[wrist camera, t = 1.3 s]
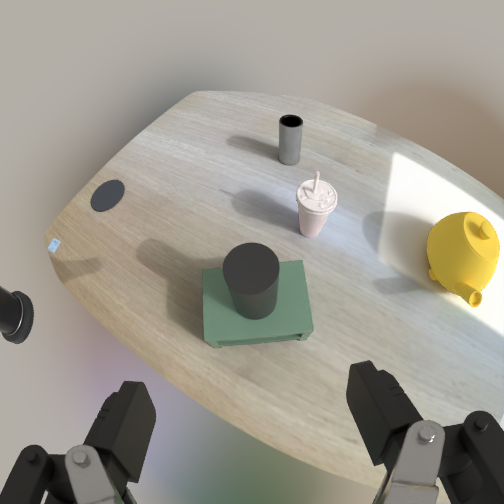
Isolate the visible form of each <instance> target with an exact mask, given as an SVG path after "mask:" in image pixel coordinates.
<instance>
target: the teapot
mask: <svg viewBox="0 0 504 504" xmlns="http://www.w3.org/2000/svg"><path fill="white" fill-rule="evenodd" d="M499 250H500V246H499V240H498V236H497V234H496V231H495V229H494V228H493V226H492V225H491V223H490V222H489V221H488V220H487V219H486V218H485V217H483V216H482V215H480V214H478V213H475V212H461V213H455V214H451V215H449V216H447V217H445V218H443V219H441V220H440V221H439V222H438V223H436V224H435V226H434V227H433V228H432V229H431V231H430V233H429V236H428V240H427V255H428V260H429V264H430V267H431V268H430V270H429V276H430V278H431V279H432V280H434V281H439V282H440V283H441V285H443V286H444V287H445V288H446V289H447V290H449V291H450V292H452V293H453V294H456V295H458V296H461V297H462V298H463V299H464V300H465V301H466V302H467V303H468V304H469V305H470V306H471V307H477V306H478V305H479V304H480V303H481V300H482V295H481V293H480V291H482V290H483V289H484V288H485V287H486V285H487V284H488V283H489V281H490V280H491V278H492V276H493V274H494V271H495V269H496V265H497V262H498V257H499Z"/></svg>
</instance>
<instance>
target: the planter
mask: <svg viewBox="0 0 504 504" xmlns="http://www.w3.org/2000/svg"><path fill="white" fill-rule="evenodd" d="M302 127H303V120H302V119H301V118H300V117H298V116H296V115H285V116H282V117H281V118H280V120H279V160H280V162H282V163H283V164H286V165H294V164H296V163H298V162H299V159H300V149H301V139H302Z"/></svg>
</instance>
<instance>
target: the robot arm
mask: <svg viewBox="0 0 504 504" xmlns="http://www.w3.org/2000/svg"><path fill="white" fill-rule="evenodd" d="M23 318H24V304H23V301H22V300H21V298H20V297H18V296H17V295H14V294H12V293H11V292H9V291H7V290H6V289H4V288H3V287H1V286H0V331H1V332H3V333H5V334H7V335H9V336H13V335H15V334H16V333H17V332H18V331H19V329H20V328H21V325H22V323H23ZM346 398H347V403H348V406H349V409H350V411H351V413H352V415H353V418H354V420H355V422H356V425H357V427H358V429H359V432H360V434H361V436H362V439H363V441H364V443H365V446H366V448H367V450H368V453H369V455H370V457H371V460H372V462H373V465H374V466H376V465H379V464H382V463H384V465H385V467H386V469H387V472H386V474H385V476H384V479H383V481H382V484H381V486H380V488H379V490H378V493H377V495H376V497H375V499H374V501H373V504H435V503H436V500H437V497H438V492H439V488H438V486H435V483H436V479H437V477H439V478H440V480H441V482H442V484H443V486H444V489H445V491H446V493H447V495H448V498H449V500H450V502H451V504H504V431H503V430H502V428H501V427H500V425H499V424H498V423H497V421H496V420H495V419H494V417H493V416H492V415H491V414H489V413H488V412H485V411H475V412H472V413H470V414H469V415H468V416H467V417H466V419H465V421H464V422H463V423H462V424H457V425H451V426H445V427H442V426H441V425H440V424H438V423H436V422H434V421H430V420H423V418H422V417H421V415H420V414H419V412H418V411H417V409H416V408H415V407H414V405H413V404H412V402H411V401H410V399H409V398H408V396H407V395H406V393H404V390H403V389H402V388H401V386H399V383H398V382H397V380H396V379H395V378H394V376H393V375H391V374H390V373H388V372H386V371H385V370H380V371H377V369H376V368H375V366H374V365H373V363H372V362H371V361H370V360H368V361H364V362H360V363H355V364H351V366H350V371H349V378H348V385H347V391H346ZM155 422H156V411H155V407H154V405H153V403H152V400H151V398H150V396H149V394H148V391H147V388H146V386H145V384H144V383H143V382H133V381H124V382H123V384H122V386H121V388H120V390H119V392H114V393H112V394H111V395H110V397H108V398H107V399H106V400H105V402H104V404H103V406H102V408H101V411H99V413H98V415H97V418H96V419H95V421H94V423H93V425H92V427H91V429H90V431H89V433H88V435H87V437H86V439H85V441H84V443H83V445H78V446H75V447H73V448H71V449H70V450H69V451H68V452H67V454H66V455H58V454H56V455H55V454H48V453H47V452H46V451H45V450H44V449H43V448H42V447H41V446H39V445H30V446H27V447H26V448H24V449H23V450H22V451H21V453H20V455H19V457H18V459H17V461H16V463H15V465H14V467H13V469H12V471H11V473H10V475H9V477H8V479H7V481H6V483H5V486H4V488H3V490H2V492H1V494H0V504H40V503H41V501H42V498H43V495H44V492H45V490H46V491H47V492H48V495H47V498H46V501H45V503H44V504H137V503H136V501H135V499H134V497H133V496H132V494H131V492H130V490H129V489H128V487H127V486H126V485H127V482H128V481H129V482H134V483H138V481H139V477H140V474H141V470H142V467H143V463H144V460H145V456H146V452H147V449H148V445H149V442H150V438H151V435H152V432H153V428H154V425H155Z"/></svg>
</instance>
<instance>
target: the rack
mask: <svg viewBox="0 0 504 504" xmlns="http://www.w3.org/2000/svg"><path fill="white" fill-rule="evenodd" d="M279 265H280V271H279V283H278V293H277V303H276V306H275V309H274V310H273V312H272V313H271V314H270V315H269V316H267V317H265V318H263V319H259V320H251V319H247V318H245V317H243V316H242V315H241V314H240V313H239V312H238V311H237V309H236V307H235V305H234V302H233V300H232V297H231V295H230V292H229V289H228V287H227V284H226V281H225V279H224V276H223V268H216V269H205V270H202V285H203V330H204V341H205V342H207V343H208V344H209V345H211V346H212V347H213V348H221V347H222V346H233V345H246V344H258V343H268V342H278V341H287V340H295V339H299V341H300V340H306V339H307V338H308V337H309V336H310V334H311V333H312V332H313V330H314V328H313V322H312V315H311V308H310V302H309V296H308V290H307V284H306V278H305V272H304V266H303V260H298V261H289V262H279Z"/></svg>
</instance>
